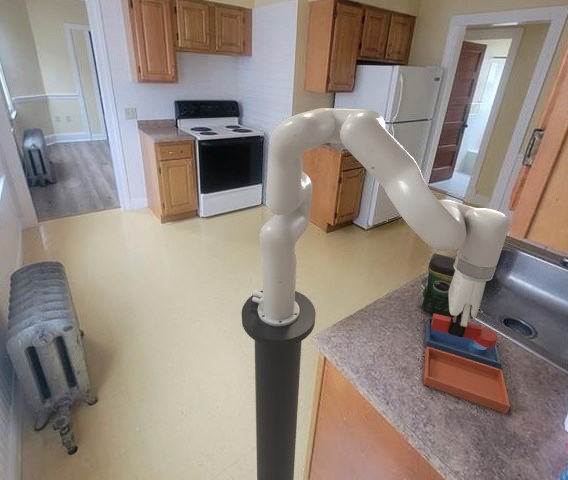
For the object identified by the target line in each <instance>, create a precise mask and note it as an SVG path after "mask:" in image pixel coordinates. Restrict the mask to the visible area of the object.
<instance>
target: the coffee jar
mask: <svg viewBox="0 0 568 480" xmlns="http://www.w3.org/2000/svg"><path fill="white" fill-rule="evenodd" d="M455 258H456V257H453V256H449V255H444V254H439V253H435V252H434V253H433V254H432V256H431V258H430V260H429V262H428V265H427V270H428V275H427V279H426V283H425V286H424V289H423V291H422V294H421V297H420V307H421V308H422V310H424V311H425V312H427V313H429V314H433V313H435V314H439V315H443V316H447V317H449V316H450V311H449V296H448V293H449V288H450V285H451V282H452V279H453V276H454V273H455V269H454V262H455Z"/></svg>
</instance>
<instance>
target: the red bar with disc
mask: <svg viewBox="0 0 568 480" xmlns="http://www.w3.org/2000/svg"><path fill="white" fill-rule="evenodd" d="M431 318H432V323H431V329H433V330H437V331H441V332H444V333H448V329H449V325H450V322H451V319H453V318H451V317H447V316H443V315H439V314H435V313H432V317H431ZM448 334H449V333H448ZM463 337H464V338H467V339H471V340H475V341H476V342H477V343H478V344H479V345H481V346H484V347H487V348H492V347H494V346H495V345H496V344H497V341H498V335H497V333H496V332H495V331H494V330H492V329H491V328H489V327H487V326H486V327H485V326H482V324H479V323H475V322H472V321H468V323H467V327H466V329H465V333H464V336H463Z"/></svg>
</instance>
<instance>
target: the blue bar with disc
mask: <svg viewBox="0 0 568 480" xmlns="http://www.w3.org/2000/svg"><path fill="white" fill-rule="evenodd" d="M431 337H432V338H435V339H438V340H442V341H445V342H448V343H452V344H455V345H458V346H462V347H465V348H468V349H469V350H470V351H471V352H472V353H474V354H476V355H484V354H485V352H486V349H487V347H484V346H481V345H479V344H478V343H477V342H476V341H475V340H471V339H467V338H464V337H458V336H455V335H451V334H448V333H444V332H441V331H437V330H433V329H432V332H431Z"/></svg>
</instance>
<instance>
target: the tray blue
mask: <svg viewBox="0 0 568 480" xmlns="http://www.w3.org/2000/svg"><path fill="white" fill-rule="evenodd" d="M432 318H433V317H430V316H427V317H426V322H425V339H424V340H425V341H424V344H425V345H424V348H425V349H426V347H427V346H428V347H431V348H434V349H438V350H441V351H444V352H447V353H450V354H454V355H457V356H460V357H463V358H466V359H470V360H473V361H476V362H479V363H482V364H485V365H489V366H492V367H495V368H498V369H501V365H502V363H501V358H500V353H499V350H498V349H499V347H498V343H496V345H495V346H494V347H492V348H487V349H486V352H485V354H484V355H476V354H474V353H472V352H471V351H470V350H469V349H468V348H465V347H462V346H458V345H455V344H452V343H448V342H445V341H442V340H438V339H435V338H432V337H431V332H432V329H431V323H432Z"/></svg>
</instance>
